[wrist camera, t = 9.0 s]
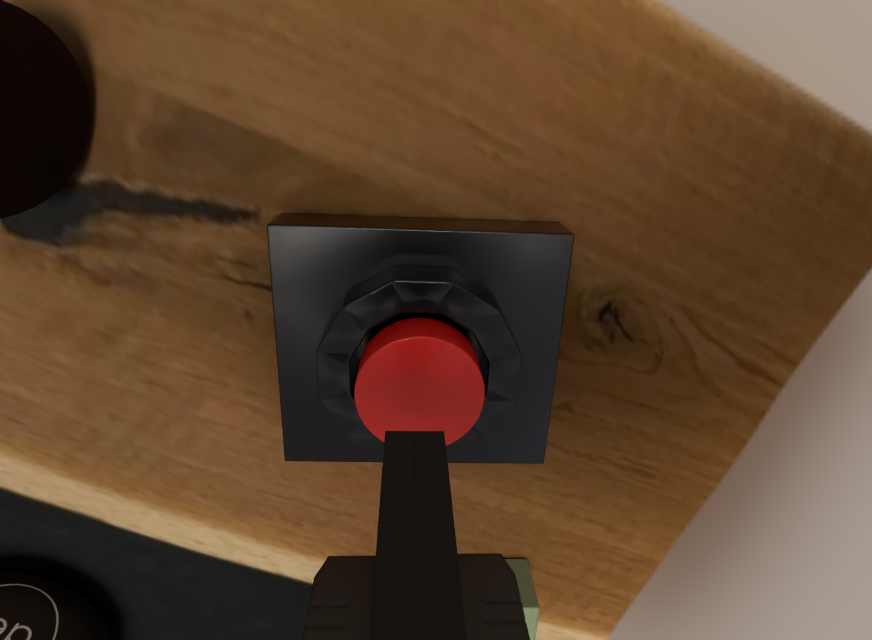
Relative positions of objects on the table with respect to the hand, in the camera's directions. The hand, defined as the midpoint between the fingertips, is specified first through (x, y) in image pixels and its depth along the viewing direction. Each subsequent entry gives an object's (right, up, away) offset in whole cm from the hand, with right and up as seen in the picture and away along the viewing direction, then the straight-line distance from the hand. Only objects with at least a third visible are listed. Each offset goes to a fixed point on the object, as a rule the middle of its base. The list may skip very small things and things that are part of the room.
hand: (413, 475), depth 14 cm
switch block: (0, +3, +9) cm, 10 cm away
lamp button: (0, +2, +6) cm, 6 cm away
